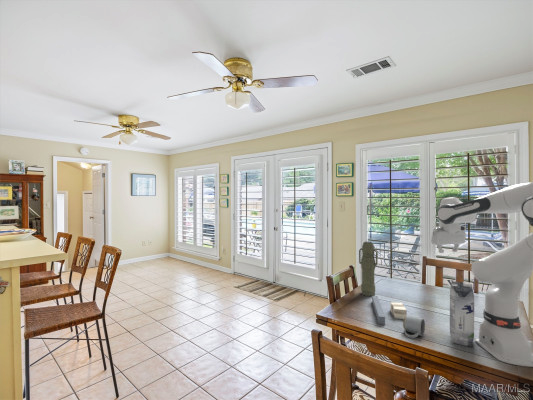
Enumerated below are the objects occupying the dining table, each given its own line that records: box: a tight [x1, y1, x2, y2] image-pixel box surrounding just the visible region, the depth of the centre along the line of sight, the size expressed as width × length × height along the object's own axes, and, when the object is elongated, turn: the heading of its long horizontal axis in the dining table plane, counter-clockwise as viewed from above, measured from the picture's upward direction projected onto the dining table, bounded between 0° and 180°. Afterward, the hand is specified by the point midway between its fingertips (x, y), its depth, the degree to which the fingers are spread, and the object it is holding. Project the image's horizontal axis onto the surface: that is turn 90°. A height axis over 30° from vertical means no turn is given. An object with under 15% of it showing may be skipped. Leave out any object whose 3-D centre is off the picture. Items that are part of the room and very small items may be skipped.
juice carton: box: [449, 280, 475, 348], centre depth 124 cm, size 9×10×27 cm
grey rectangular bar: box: [371, 295, 386, 326], centre depth 155 cm, size 30×3×4 cm, turn 165°
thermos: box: [358, 241, 379, 297], centre depth 184 cm, size 9×12×35 cm
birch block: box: [389, 301, 408, 320], centre depth 153 cm, size 10×6×5 cm, turn 167°
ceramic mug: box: [402, 315, 426, 339], centre depth 131 cm, size 11×8×8 cm
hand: (448, 252), depth 150 cm, fingers open, 8 cm apart
